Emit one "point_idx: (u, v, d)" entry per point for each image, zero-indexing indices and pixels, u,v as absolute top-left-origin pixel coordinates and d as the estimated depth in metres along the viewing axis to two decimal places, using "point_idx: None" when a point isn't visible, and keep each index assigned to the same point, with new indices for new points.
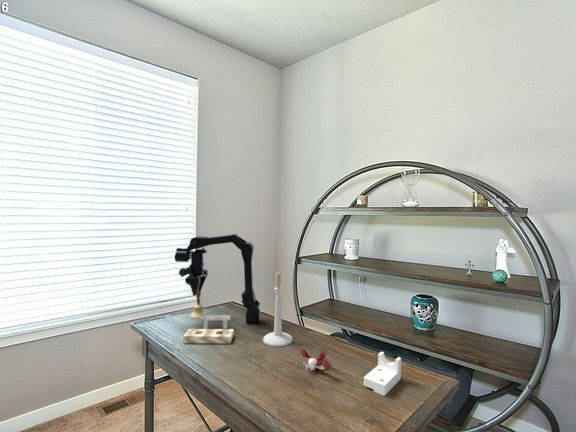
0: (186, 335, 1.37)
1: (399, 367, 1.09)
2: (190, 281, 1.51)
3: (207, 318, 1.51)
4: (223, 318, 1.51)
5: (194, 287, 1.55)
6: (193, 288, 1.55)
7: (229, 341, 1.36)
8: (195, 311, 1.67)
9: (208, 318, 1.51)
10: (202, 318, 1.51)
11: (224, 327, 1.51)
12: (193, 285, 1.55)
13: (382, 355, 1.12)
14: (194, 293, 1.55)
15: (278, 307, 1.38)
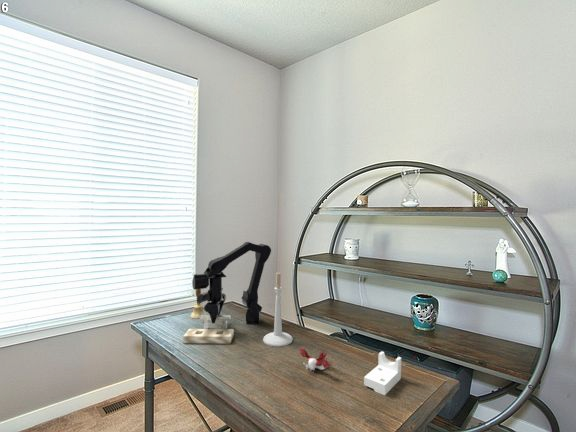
0: (186, 335, 1.37)
1: (399, 367, 1.09)
2: (209, 309, 1.42)
3: (207, 318, 1.51)
4: (223, 318, 1.51)
5: (213, 315, 1.46)
6: (212, 316, 1.46)
7: (229, 341, 1.36)
8: (195, 311, 1.67)
9: (208, 318, 1.51)
10: (202, 318, 1.51)
11: (224, 327, 1.51)
12: (212, 312, 1.46)
13: (382, 355, 1.13)
14: (213, 321, 1.47)
15: (278, 307, 1.38)
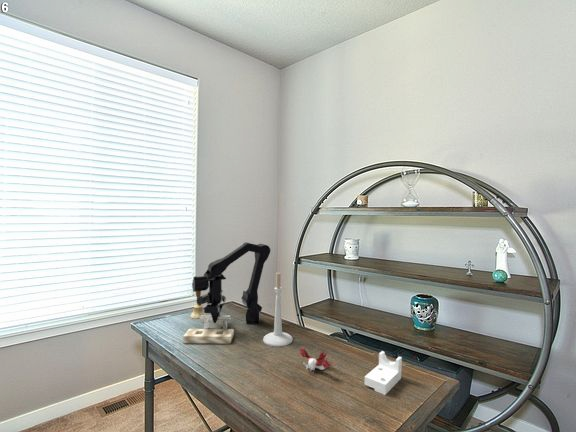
0: (186, 335, 1.37)
1: (400, 366, 1.09)
2: (209, 311, 1.42)
3: (207, 318, 1.51)
4: (223, 318, 1.51)
5: (214, 314, 1.49)
6: (213, 315, 1.49)
7: (229, 341, 1.36)
8: (195, 311, 1.67)
9: (208, 318, 1.51)
10: (202, 318, 1.51)
11: (224, 327, 1.51)
12: (213, 312, 1.49)
13: (383, 354, 1.13)
14: (215, 320, 1.50)
15: (278, 307, 1.38)
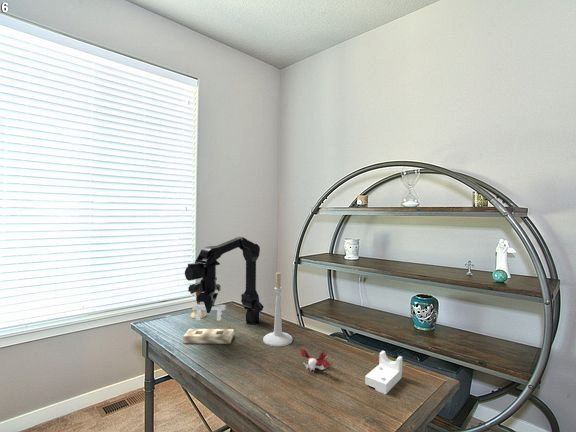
0: (186, 335, 1.37)
1: (400, 366, 1.09)
2: (202, 300, 1.30)
3: (200, 308, 1.39)
4: (217, 308, 1.39)
5: (208, 304, 1.37)
6: (207, 305, 1.37)
7: (229, 341, 1.36)
8: (195, 311, 1.67)
9: (201, 308, 1.39)
10: (194, 308, 1.39)
11: (218, 317, 1.39)
12: (207, 301, 1.37)
13: (383, 354, 1.13)
14: (208, 310, 1.38)
15: (278, 307, 1.38)
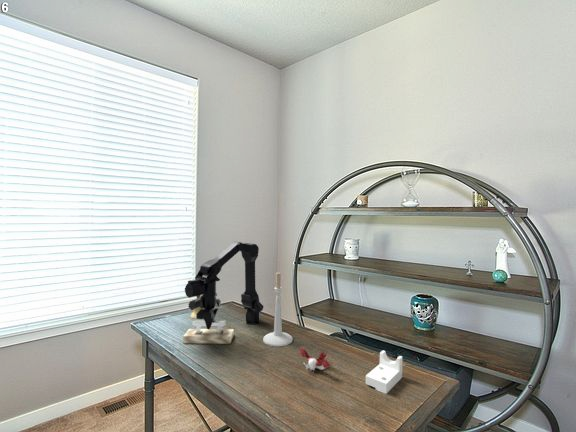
0: (186, 335, 1.37)
1: (400, 366, 1.10)
2: (202, 317, 1.30)
3: (200, 324, 1.39)
4: (217, 324, 1.39)
5: (208, 320, 1.37)
6: (207, 321, 1.37)
7: (229, 341, 1.36)
8: (195, 311, 1.67)
9: (201, 324, 1.39)
10: (194, 324, 1.39)
11: None
12: None
13: (384, 354, 1.13)
14: (208, 327, 1.38)
15: (278, 307, 1.38)
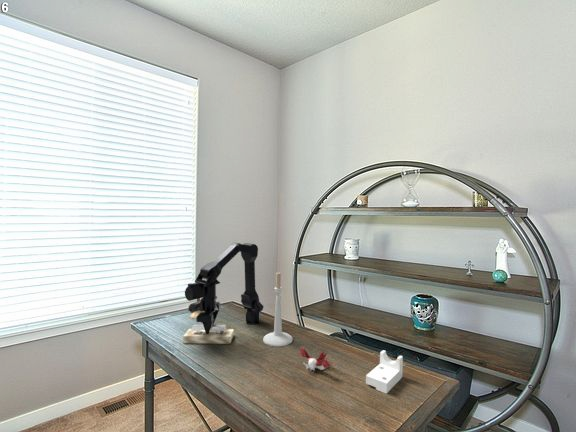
0: (186, 335, 1.37)
1: (401, 365, 1.10)
2: (202, 320, 1.30)
3: (200, 328, 1.39)
4: (217, 328, 1.39)
5: (207, 325, 1.36)
6: (206, 326, 1.36)
7: (229, 341, 1.36)
8: None
9: (201, 328, 1.39)
10: (194, 328, 1.39)
11: None
12: (206, 322, 1.35)
13: (384, 353, 1.13)
14: (207, 331, 1.36)
15: (278, 307, 1.38)
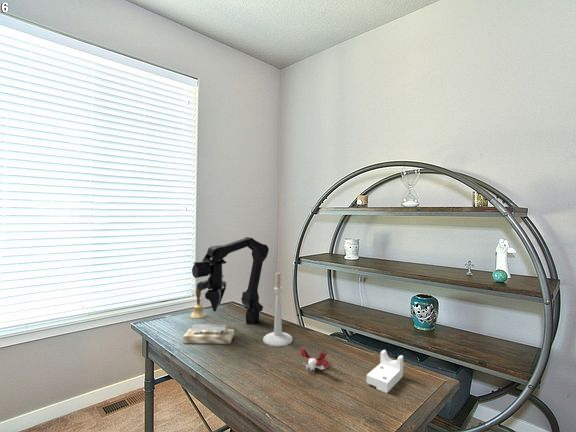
0: (186, 335, 1.37)
1: (401, 365, 1.10)
2: (210, 296, 1.37)
3: (200, 328, 1.39)
4: (217, 328, 1.39)
5: (214, 302, 1.41)
6: (213, 303, 1.41)
7: (229, 341, 1.36)
8: (195, 311, 1.67)
9: (201, 328, 1.39)
10: (194, 328, 1.39)
11: None
12: (213, 300, 1.41)
13: (384, 353, 1.14)
14: (214, 309, 1.42)
15: (278, 307, 1.38)
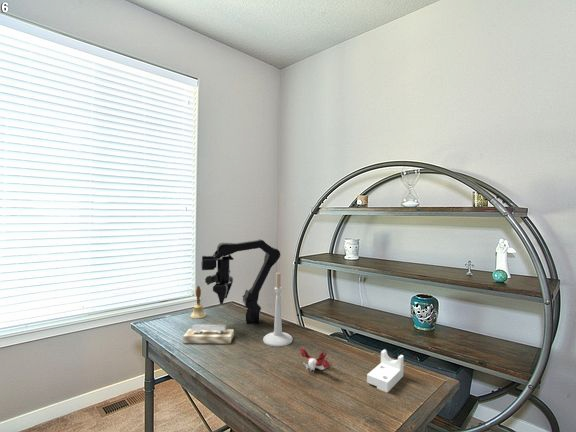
0: (186, 335, 1.37)
1: (402, 364, 1.10)
2: (218, 289, 1.46)
3: (200, 328, 1.39)
4: (217, 328, 1.39)
5: (221, 295, 1.50)
6: (220, 296, 1.50)
7: (229, 341, 1.36)
8: (195, 311, 1.67)
9: (201, 328, 1.39)
10: (194, 328, 1.39)
11: None
12: (220, 293, 1.50)
13: (385, 353, 1.14)
14: (221, 302, 1.51)
15: (278, 307, 1.38)
